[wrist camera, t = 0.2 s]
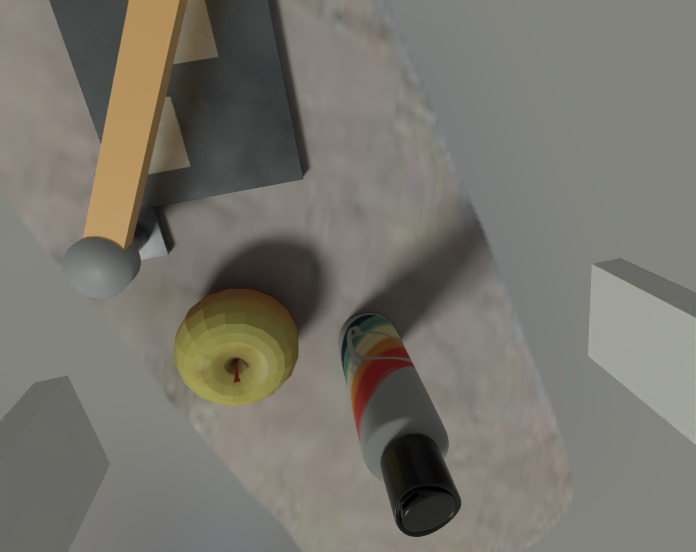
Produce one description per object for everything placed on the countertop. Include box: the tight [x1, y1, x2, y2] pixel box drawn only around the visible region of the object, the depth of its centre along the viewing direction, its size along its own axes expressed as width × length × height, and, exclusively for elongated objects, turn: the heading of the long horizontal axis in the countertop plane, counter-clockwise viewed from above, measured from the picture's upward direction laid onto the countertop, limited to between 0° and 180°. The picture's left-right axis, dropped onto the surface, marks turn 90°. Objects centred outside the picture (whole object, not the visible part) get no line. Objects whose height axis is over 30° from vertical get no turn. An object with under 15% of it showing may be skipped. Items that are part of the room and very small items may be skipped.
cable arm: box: [63, 0, 188, 298], centre depth 26 cm, size 24×4×2 cm, turn 159°
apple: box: [174, 289, 299, 406], centre depth 37 cm, size 10×10×8 cm
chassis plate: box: [49, 0, 303, 210], centre depth 32 cm, size 20×14×1 cm
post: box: [132, 207, 170, 260], centre depth 33 cm, size 4×4×6 cm
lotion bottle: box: [338, 313, 461, 537], centre depth 33 cm, size 6×6×20 cm
